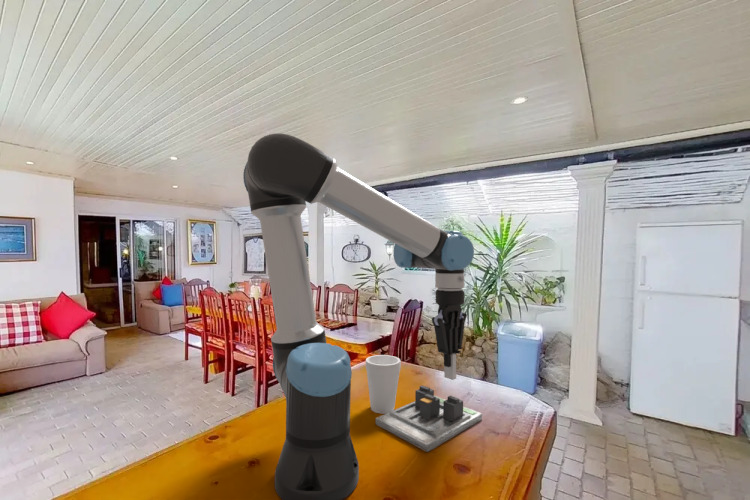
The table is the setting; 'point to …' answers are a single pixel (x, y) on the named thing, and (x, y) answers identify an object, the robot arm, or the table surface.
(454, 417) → the breaker
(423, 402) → the breaker
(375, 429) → the table surface
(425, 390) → the block
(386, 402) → the foam cup
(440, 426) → the panel
